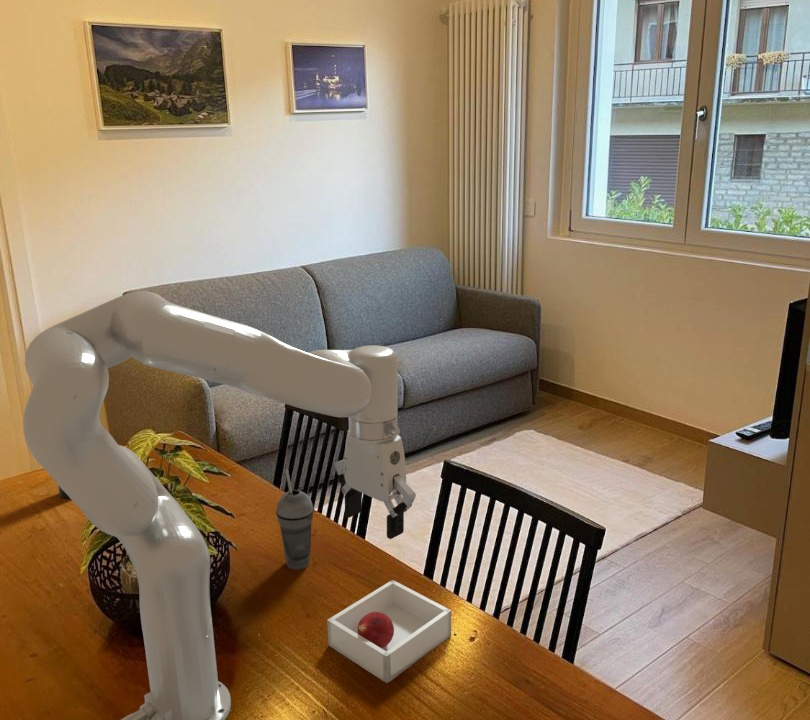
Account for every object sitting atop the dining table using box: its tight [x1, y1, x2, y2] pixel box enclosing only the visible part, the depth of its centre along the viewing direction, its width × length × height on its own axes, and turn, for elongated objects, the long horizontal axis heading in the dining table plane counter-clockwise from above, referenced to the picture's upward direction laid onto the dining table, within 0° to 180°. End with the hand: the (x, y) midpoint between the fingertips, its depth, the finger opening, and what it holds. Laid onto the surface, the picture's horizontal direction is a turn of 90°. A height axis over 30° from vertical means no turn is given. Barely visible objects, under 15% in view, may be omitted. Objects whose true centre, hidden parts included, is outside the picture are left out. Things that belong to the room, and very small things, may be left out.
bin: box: [326, 579, 452, 684], centre depth 130 cm, size 16×14×5 cm
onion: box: [358, 612, 394, 649], centre depth 127 cm, size 6×6×8 cm
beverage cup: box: [275, 469, 315, 570], centre depth 151 cm, size 7×7×20 cm
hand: (373, 524), depth 126 cm, fingers open, 9 cm apart
